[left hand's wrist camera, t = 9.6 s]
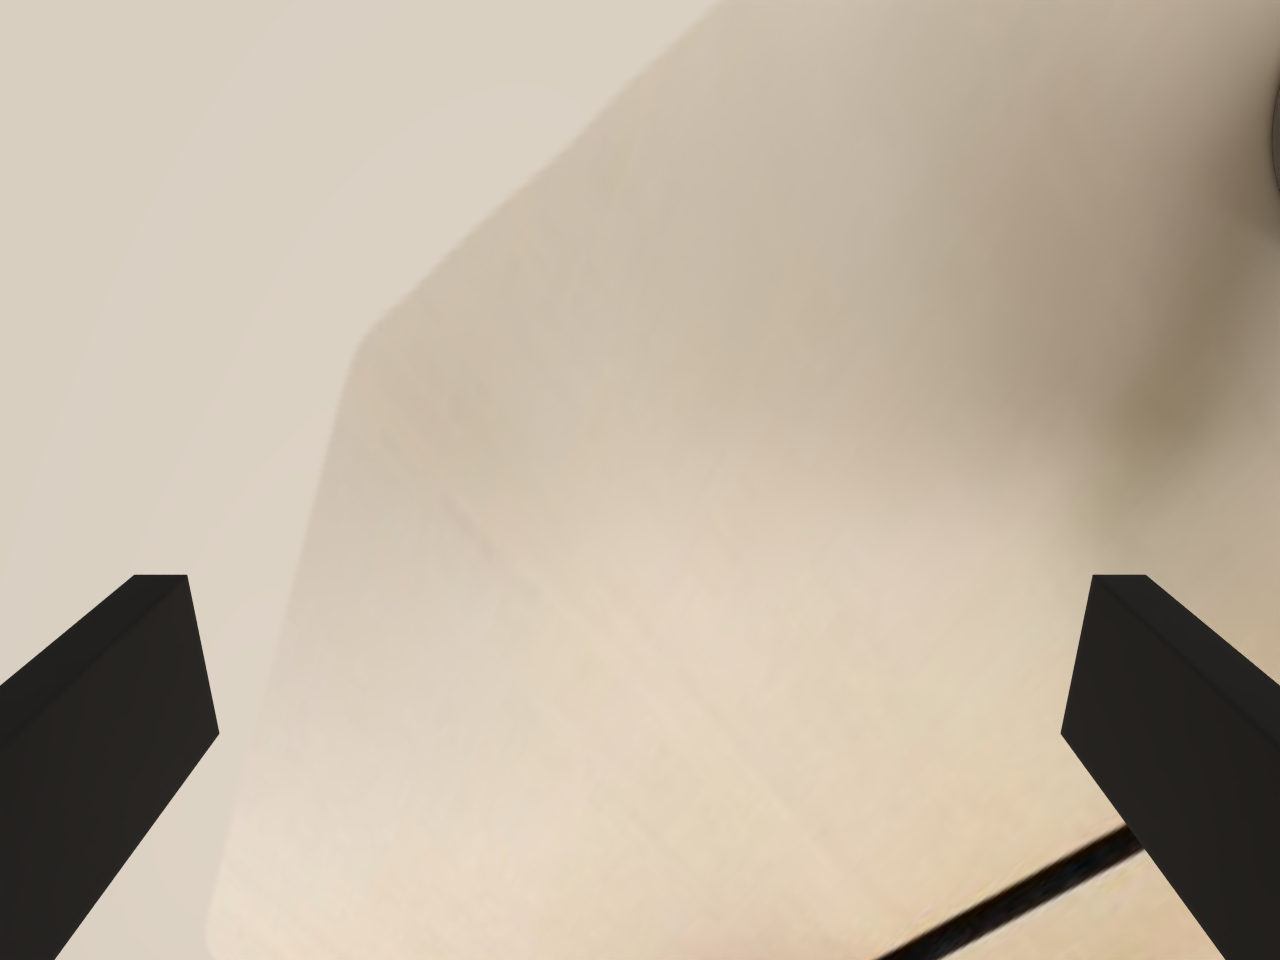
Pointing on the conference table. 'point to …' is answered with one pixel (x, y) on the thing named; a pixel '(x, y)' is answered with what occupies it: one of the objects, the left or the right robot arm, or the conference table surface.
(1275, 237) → the conference table surface
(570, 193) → the conference table surface
